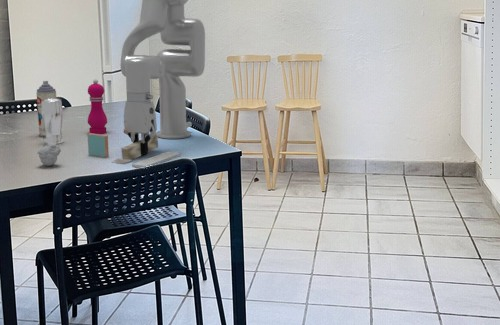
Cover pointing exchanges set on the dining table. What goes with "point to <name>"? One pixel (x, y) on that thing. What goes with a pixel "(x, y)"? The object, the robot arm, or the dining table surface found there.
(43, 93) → the aerosol can
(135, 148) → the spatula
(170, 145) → the dining table surface
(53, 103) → the beer glass
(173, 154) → the board
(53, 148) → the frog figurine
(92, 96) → the pepper mill
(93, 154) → the tile
